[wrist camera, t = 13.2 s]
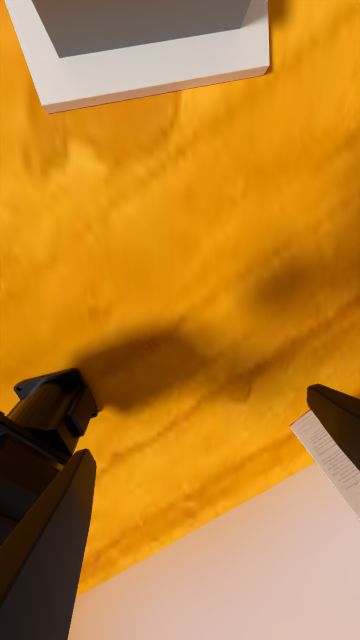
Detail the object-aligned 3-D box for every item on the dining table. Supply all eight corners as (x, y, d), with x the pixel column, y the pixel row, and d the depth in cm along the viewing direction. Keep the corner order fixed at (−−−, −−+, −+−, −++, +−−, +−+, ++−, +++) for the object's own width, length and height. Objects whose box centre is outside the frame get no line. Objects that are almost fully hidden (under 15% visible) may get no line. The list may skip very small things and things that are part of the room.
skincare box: (329, 426, 29) (441, 536, 18) (306, 443, 30) (400, 561, 19) (310, 407, 27) (423, 517, 16) (285, 426, 28) (377, 546, 16)
